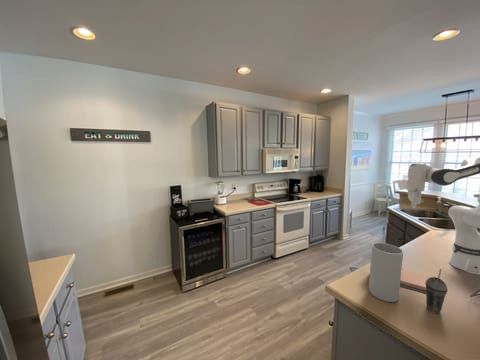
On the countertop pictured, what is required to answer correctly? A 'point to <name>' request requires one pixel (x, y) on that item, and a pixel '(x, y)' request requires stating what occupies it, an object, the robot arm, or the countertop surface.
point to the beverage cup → (435, 293)
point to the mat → (412, 288)
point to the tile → (413, 279)
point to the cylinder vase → (385, 271)
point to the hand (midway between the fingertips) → (413, 208)
